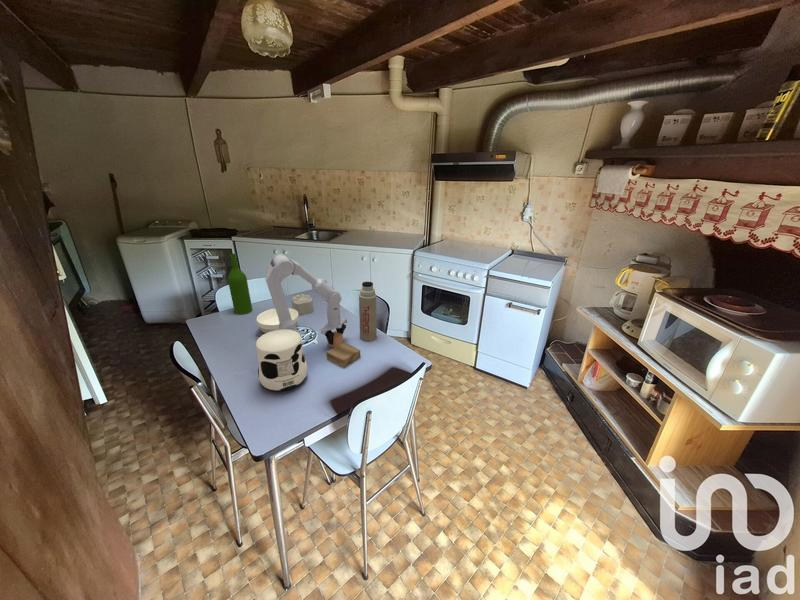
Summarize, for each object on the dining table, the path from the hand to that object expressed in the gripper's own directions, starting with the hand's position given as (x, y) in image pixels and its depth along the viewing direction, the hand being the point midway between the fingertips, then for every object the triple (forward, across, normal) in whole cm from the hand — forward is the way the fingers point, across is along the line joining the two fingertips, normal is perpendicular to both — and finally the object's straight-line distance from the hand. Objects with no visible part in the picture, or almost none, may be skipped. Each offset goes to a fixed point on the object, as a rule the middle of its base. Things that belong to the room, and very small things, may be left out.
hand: (335, 341), depth 142 cm
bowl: (+2, -8, +30) cm, 31 cm away
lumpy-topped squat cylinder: (+2, +15, +41) cm, 44 cm away
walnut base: (+2, -6, -11) cm, 13 cm away
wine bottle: (+2, -6, +65) cm, 65 cm away
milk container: (+2, -30, -3) cm, 30 cm away
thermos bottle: (+2, +14, -8) cm, 16 cm away
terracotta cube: (+1, 0, 0) cm, 1 cm away
